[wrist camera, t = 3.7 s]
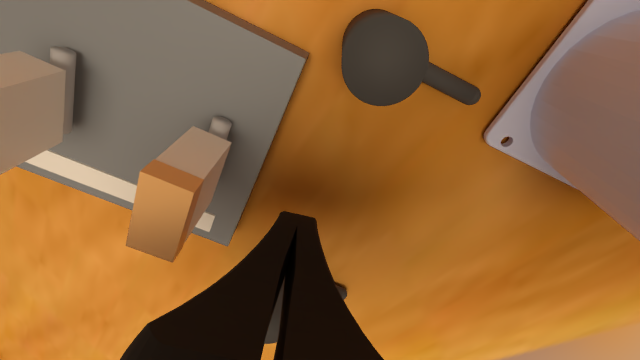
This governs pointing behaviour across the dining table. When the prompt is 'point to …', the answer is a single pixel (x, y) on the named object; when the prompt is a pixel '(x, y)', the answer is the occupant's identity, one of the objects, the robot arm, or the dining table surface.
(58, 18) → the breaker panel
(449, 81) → the dark cylinders with handles
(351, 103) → the dining table surface
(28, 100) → the orange and brown block
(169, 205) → the tan rectangular block
